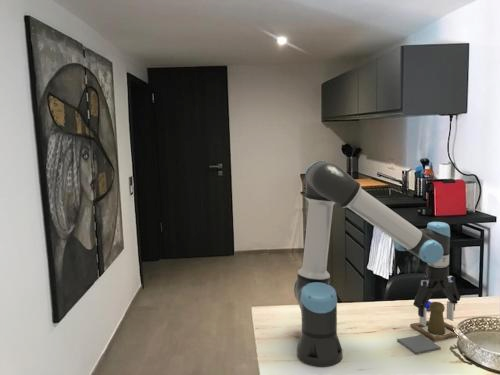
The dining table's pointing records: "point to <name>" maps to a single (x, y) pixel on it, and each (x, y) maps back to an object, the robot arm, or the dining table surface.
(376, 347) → the dining table surface
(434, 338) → the wooden square frame
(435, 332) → the cork
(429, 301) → the colourful toy
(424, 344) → the slate pad
